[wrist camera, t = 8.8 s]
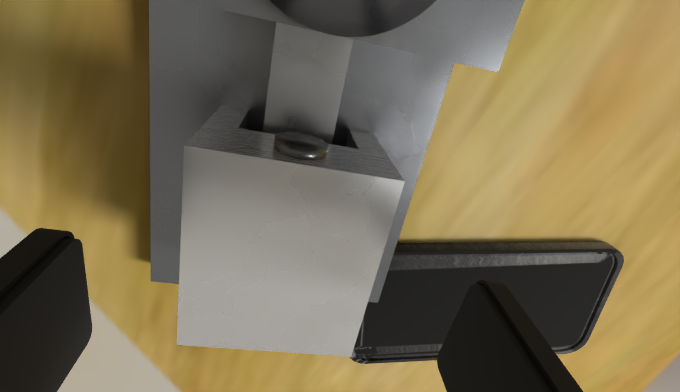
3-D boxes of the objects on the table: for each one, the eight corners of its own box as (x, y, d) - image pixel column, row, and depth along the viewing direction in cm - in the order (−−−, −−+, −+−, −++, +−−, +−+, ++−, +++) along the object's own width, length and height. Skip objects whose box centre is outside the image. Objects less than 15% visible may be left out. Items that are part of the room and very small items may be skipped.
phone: (356, 252, 18) (631, 249, 20) (353, 240, 19) (614, 238, 21) (346, 365, 21) (582, 354, 23) (344, 350, 22) (569, 340, 24)
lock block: (209, 257, 17) (176, 344, 12) (222, 97, 14) (184, 134, 9) (337, 271, 18) (351, 356, 13) (374, 126, 15) (407, 171, 10)
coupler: (162, -149, 11) (-141, -526, 4) (478, -56, 13) (735, -168, 6) (159, 265, 18) (49, 457, 10) (373, 287, 20) (423, 462, 12)
